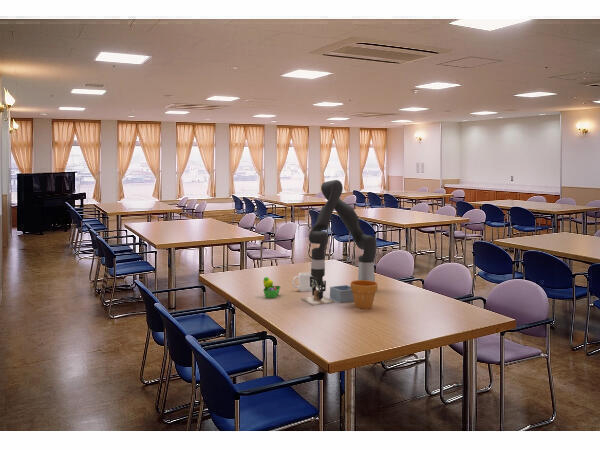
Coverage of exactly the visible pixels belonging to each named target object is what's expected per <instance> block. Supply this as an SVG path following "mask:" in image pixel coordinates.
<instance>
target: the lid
mask: <svg viewBox="0 0 600 450" xmlns="http://www.w3.org/2000/svg"><path fill="white" fill-rule="evenodd" d="M302 300H303V302H304V301H305V302H304V303H306V302H307V303H306V304H308V303H309V304H308V305H310V304H311V305H310V306H312V305H314V306H320V305H319V304H322V305H328V304H327V303H330V304H335V303H334V302H335V300H333V299H330V298H328V297H326V296H323V298H322V299H319V289H316V290H314V296H310V297H309V296H308V297H302V298H300V301H302Z"/></svg>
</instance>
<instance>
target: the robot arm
mask: <svg viewBox="0 0 600 450" xmlns="http://www.w3.org/2000/svg"><path fill="white" fill-rule="evenodd" d="M343 189H344V187H343V184H342V182H341V181H340V180H338V179H334V180H329V181H324V182H323V183H321V187H320V190H321V193H322V195H323V196H324V198H325V199H326V200H327V201H326V202H325V204H324V205H323V207H322V208H321V209H320V210H319V213H318V215H317V217H316V222H315V224H314V225H313V227H312V229H310V232H309V234H308V241H309V243H311V244H316V245H319V246H318V247H314V248H312V249H311V262H310V273H311V276H310V287H311V288H312V291H311V295H312V297H314V290H319V299H322V298H323V297H324V292H326V291H327V290H326V289H327V287H326V286H327V281H326V280H324V279H323V277H324V276H325V274H326V272H325V271H326V270H325V269H326V263H325V257H326V256H325V254H326V253H325V251H326V248H327V243H328V240H329V234H328V232H327V231H325V230H327V229H328V228H329V225H330V222H331V219H332V215H333V212H334V211H335V212H336V214H337V215H338V216H339V219H340V220H341V221H342V223H343V224H344V227H345V228H346V229H347V230H348V232H349V233H350V235H351V237H352V239H353V241H354V242H355V243H354V244H355V245H356V246H357V248H358V249H360V250H363V254H362V255H360V256H358V264H357V265H358V266H357V267H358V270H357V272H358V275H357V276H358V277H357V280H369V281H374V282H376V278H375V277H376V275H375V273H374V272H375V271H374V270H375V269H374V268H375V266H374V265H375V258H376V255H377V254H376V253H377V240H376V237H374V236H373V235H368V234H366V233H364V232H363V230H362V228H361V227H360V219H359V216H358V214H357V213H356V211H355V209H354V208H353V207H352V206H350V205H349V204H348V203H346V202H345V201H343V200H342V199H341V196H342V194H343Z"/></svg>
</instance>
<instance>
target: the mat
mask: <svg viewBox="0 0 600 450" xmlns="http://www.w3.org/2000/svg"><path fill="white" fill-rule="evenodd" d="M301 301H303V300H301ZM303 302H304V303H306V304H308V305H310V306H311V307H312V306H315V305H311V304H309V303H307V302H305V301H303ZM335 303H336V302H335V301H334V303H333V304H335ZM328 304H331V303H327V304H326V305H328ZM320 305H323V304H319V305H318V306H320Z"/></svg>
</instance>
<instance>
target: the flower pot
mask: <svg viewBox="0 0 600 450" xmlns="http://www.w3.org/2000/svg"><path fill="white" fill-rule="evenodd" d="M350 286H351V290H352V292H353V298H354V301H353V302H354V306H355V307H356V308H358V309H362V310H363V309H364V310H368V308H369V309H372V307H373V303H374V299H375V296H376V293H377V291H378V282H377V281H375V282H374V281H369V280H358V279H357V280H353V281H351V282H350Z"/></svg>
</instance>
